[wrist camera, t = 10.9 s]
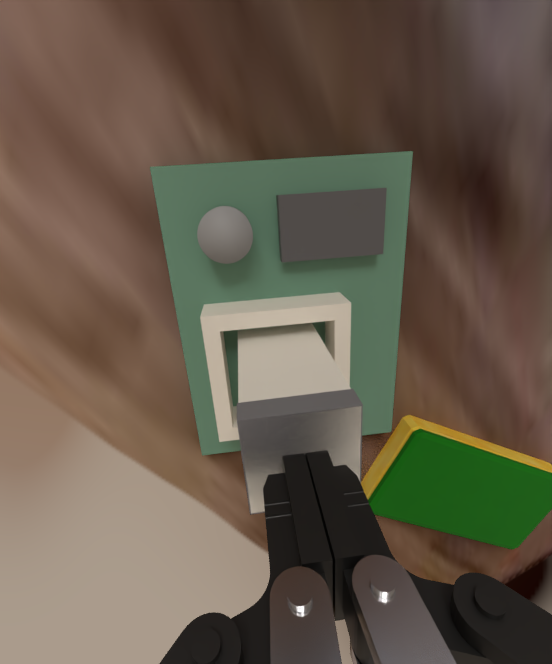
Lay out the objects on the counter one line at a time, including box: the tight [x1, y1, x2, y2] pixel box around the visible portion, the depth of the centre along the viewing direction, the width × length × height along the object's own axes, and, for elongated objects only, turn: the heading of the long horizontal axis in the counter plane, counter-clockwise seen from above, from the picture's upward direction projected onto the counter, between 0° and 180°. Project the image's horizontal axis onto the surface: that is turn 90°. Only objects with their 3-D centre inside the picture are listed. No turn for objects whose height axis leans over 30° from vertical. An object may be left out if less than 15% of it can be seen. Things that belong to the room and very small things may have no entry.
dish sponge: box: [361, 415, 552, 549], centre depth 25 cm, size 7×14×2 cm, turn 66°
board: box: [150, 151, 413, 455], centre depth 18 cm, size 16×12×3 cm
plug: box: [237, 323, 363, 515], centre depth 15 cm, size 4×4×8 cm
